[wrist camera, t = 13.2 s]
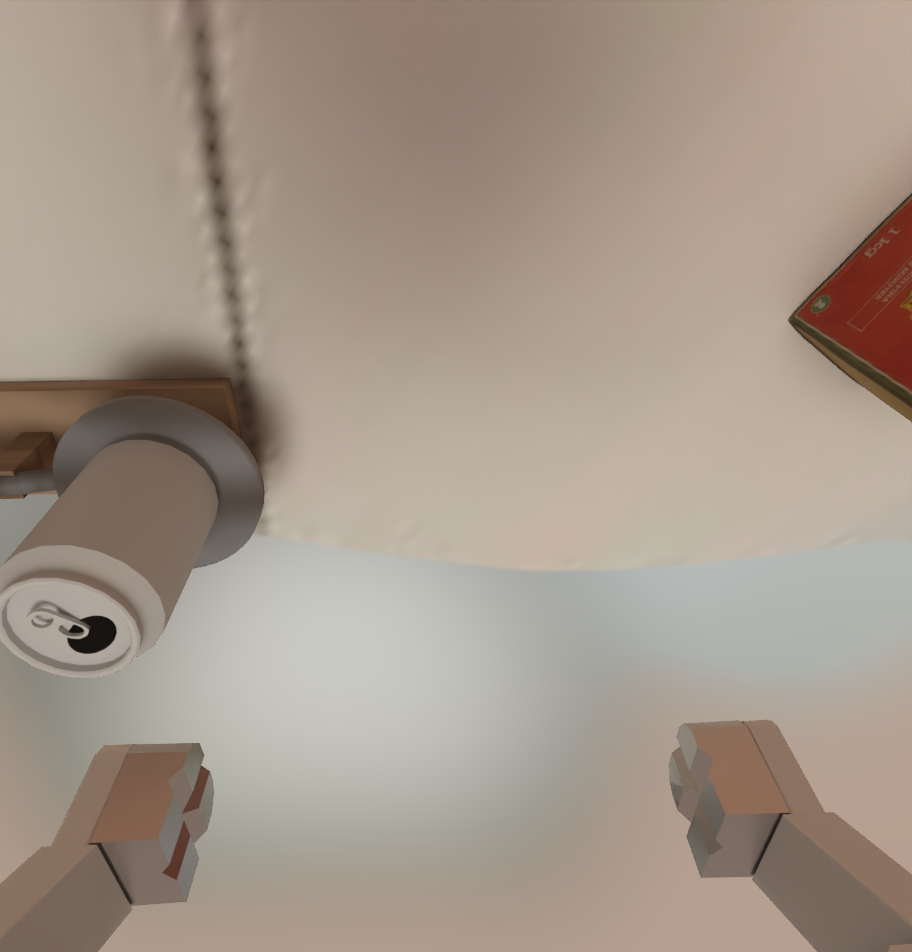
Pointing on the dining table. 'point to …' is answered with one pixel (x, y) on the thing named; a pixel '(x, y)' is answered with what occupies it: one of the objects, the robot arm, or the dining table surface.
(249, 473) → the scale
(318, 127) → the dining table surface
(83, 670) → the can
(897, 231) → the food packaging
